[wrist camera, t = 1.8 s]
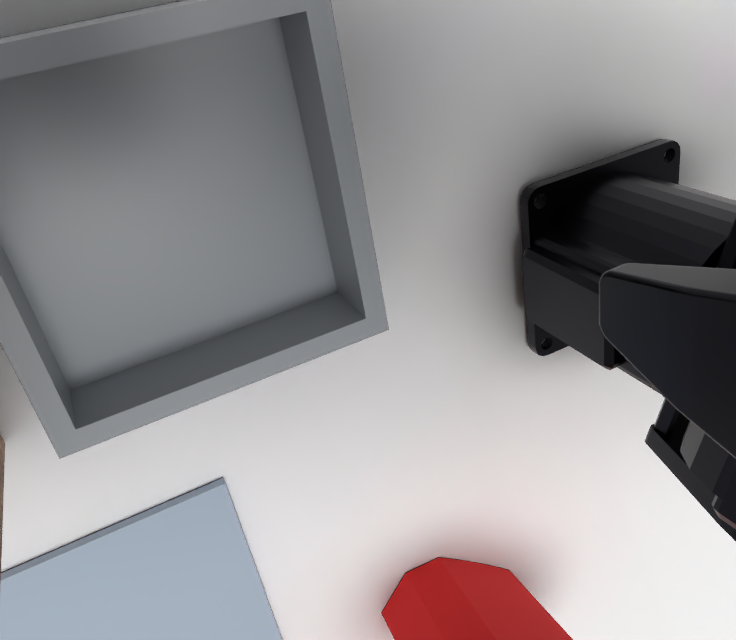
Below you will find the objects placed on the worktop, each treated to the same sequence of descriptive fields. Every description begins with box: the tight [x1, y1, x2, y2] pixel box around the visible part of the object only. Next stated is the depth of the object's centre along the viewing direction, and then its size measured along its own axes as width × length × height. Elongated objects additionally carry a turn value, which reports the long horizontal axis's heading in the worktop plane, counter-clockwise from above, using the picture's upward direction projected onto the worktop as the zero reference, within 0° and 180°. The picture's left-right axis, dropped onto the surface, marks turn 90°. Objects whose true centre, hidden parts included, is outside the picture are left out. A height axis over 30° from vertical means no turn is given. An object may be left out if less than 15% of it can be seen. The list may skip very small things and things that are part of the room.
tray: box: [0, 0, 389, 458], centre depth 17 cm, size 9×9×2 cm
